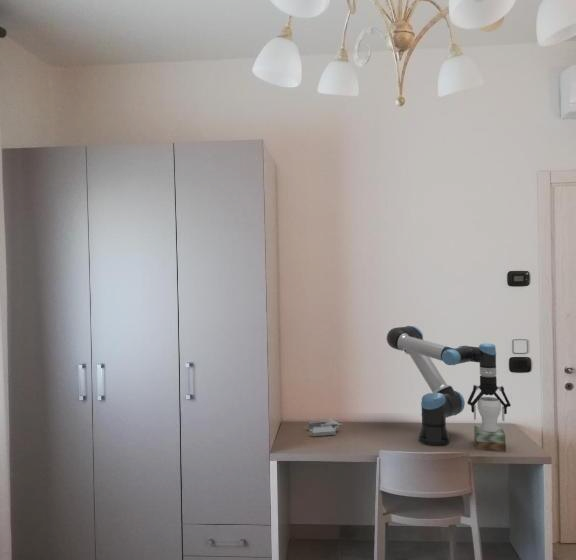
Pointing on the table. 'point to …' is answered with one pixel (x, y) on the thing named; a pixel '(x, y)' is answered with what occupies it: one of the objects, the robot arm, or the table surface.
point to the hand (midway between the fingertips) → (489, 419)
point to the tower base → (490, 446)
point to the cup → (489, 413)
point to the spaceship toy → (323, 427)
